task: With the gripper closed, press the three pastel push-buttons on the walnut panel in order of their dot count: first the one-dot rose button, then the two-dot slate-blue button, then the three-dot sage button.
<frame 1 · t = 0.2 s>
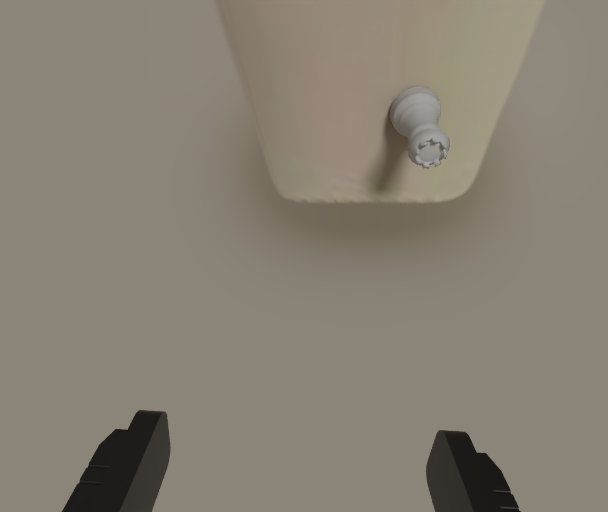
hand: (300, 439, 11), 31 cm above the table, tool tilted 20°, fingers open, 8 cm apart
rook chess piece: (412, 107, 36), on the table
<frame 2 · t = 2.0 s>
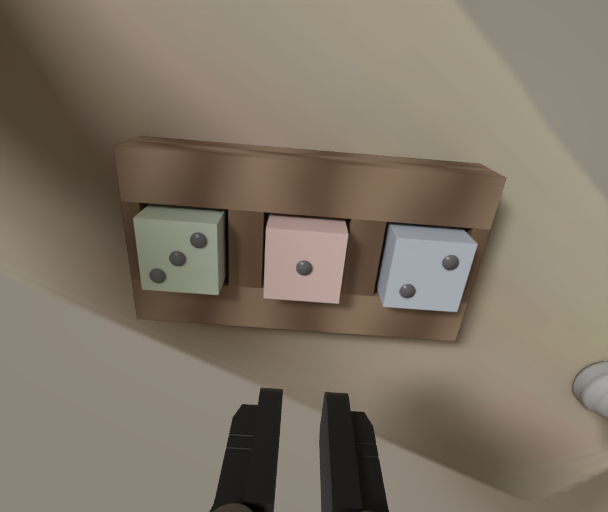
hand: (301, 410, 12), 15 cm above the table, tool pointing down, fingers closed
three-pip button: (183, 249, 22), point 4 cm above the table, slide at 0.0 cm
one-pip button: (304, 258, 22), point 4 cm above the table, slide at 0.0 cm
button panel: (304, 232, 26), on the table
rook chess piece: (596, 377, 31), on the table
two-pip button: (422, 267, 22), point 4 cm above the table, slide at 0.0 cm
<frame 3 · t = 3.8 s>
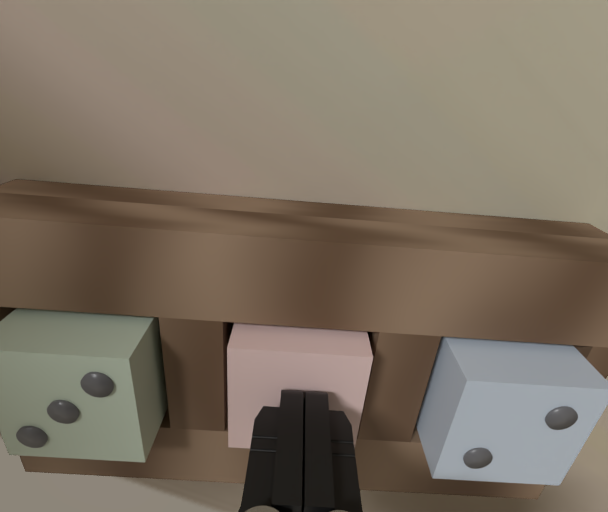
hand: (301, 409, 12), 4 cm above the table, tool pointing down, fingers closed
three-pip button: (84, 382, 13), point 4 cm above the table, slide at 0.0 cm
one-pip button: (296, 379, 13), point 3 cm above the table, slide at 0.7 cm, touching gripper
button panel: (298, 324, 16), on the table
two-pip button: (500, 408, 13), point 4 cm above the table, slide at 0.0 cm
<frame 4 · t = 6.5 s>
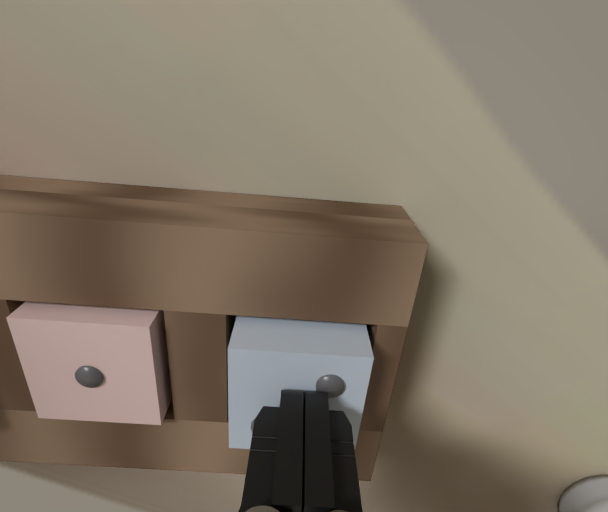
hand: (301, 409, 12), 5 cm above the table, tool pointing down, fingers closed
one-pip button: (105, 353, 14), point 3 cm above the table, slide at 1.1 cm
button panel: (137, 308, 16), on the table
rook chess piece: (591, 492, 22), on the table
two-pip button: (296, 380, 13), point 4 cm above the table, slide at 0.3 cm, touching gripper
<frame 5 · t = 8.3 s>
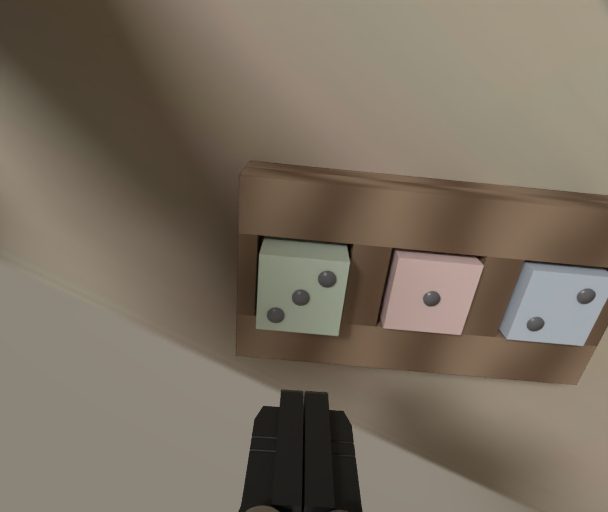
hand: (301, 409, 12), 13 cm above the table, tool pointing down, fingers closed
three-pip button: (301, 285, 20), point 4 cm above the table, slide at 0.0 cm
one-pip button: (425, 287, 21), point 3 cm above the table, slide at 1.1 cm
button panel: (413, 264, 24), on the table
two-pip button: (547, 298, 22), point 3 cm above the table, slide at 1.1 cm
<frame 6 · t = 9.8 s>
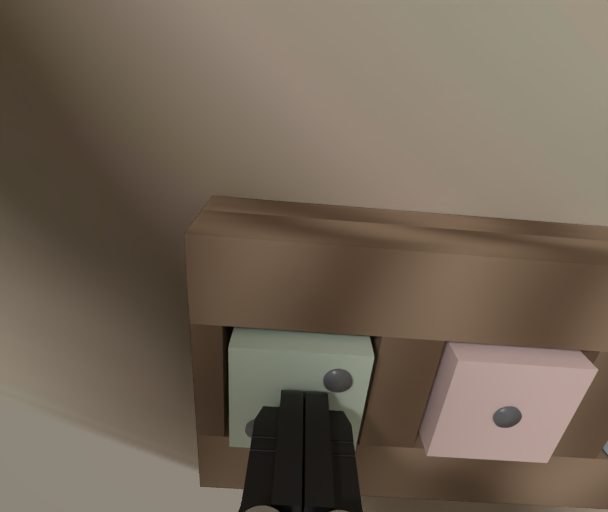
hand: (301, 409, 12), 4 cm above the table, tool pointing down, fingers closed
three-pip button: (297, 379, 13), point 3 cm above the table, slide at 1.0 cm
one-pip button: (491, 389, 14), point 3 cm above the table, slide at 1.1 cm
button panel: (462, 339, 16), on the table
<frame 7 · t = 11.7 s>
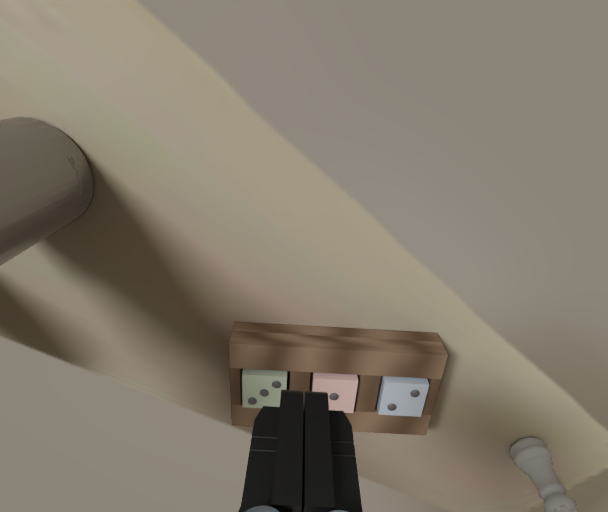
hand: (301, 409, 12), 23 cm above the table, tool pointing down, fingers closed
three-pip button: (265, 384, 39), point 3 cm above the table, slide at 1.1 cm
one-pip button: (333, 387, 39), point 3 cm above the table, slide at 1.1 cm
button panel: (331, 368, 42), on the table
rook chess piece: (525, 446, 47), on the table
two-pip button: (400, 391, 39), point 3 cm above the table, slide at 1.1 cm
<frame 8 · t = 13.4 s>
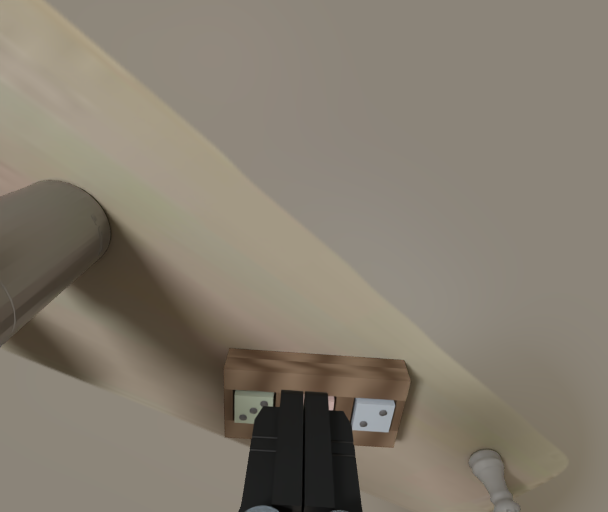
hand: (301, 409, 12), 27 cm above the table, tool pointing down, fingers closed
three-pip button: (254, 402, 45), point 3 cm above the table, slide at 1.1 cm
one-pip button: (313, 406, 45), point 3 cm above the table, slide at 1.1 cm
button panel: (313, 388, 48), on the table
rook chess piece: (482, 456, 54), on the table
two-pip button: (371, 410, 46), point 3 cm above the table, slide at 1.1 cm
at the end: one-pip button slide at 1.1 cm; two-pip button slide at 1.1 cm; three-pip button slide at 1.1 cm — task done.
